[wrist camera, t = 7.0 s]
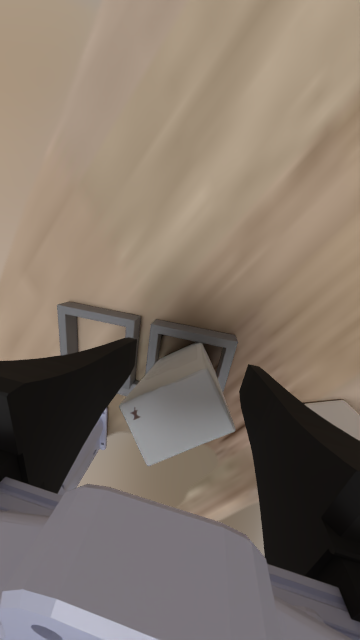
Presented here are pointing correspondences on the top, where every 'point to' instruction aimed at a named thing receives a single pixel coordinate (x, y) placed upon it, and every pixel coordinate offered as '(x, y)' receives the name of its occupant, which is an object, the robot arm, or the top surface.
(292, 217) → the top surface
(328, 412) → the medicine bottle
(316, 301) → the top surface
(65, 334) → the gray open square frames
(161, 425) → the skincare box
